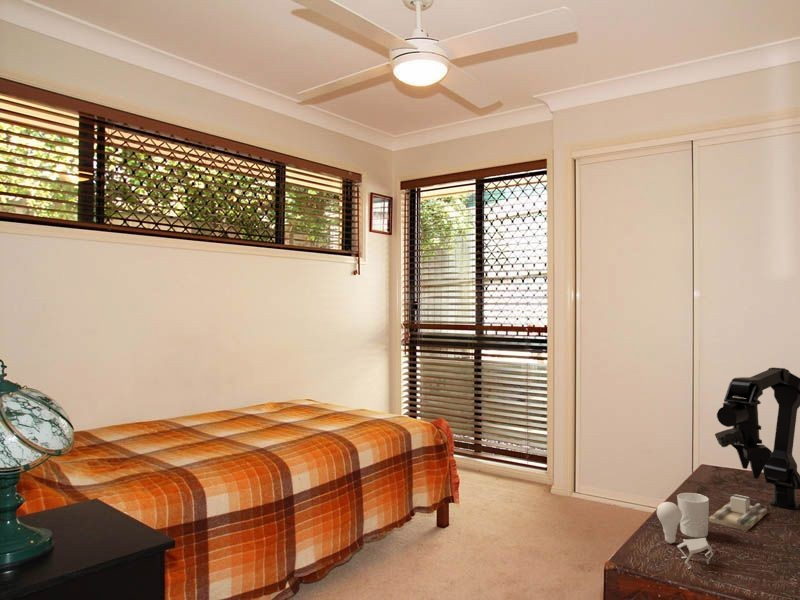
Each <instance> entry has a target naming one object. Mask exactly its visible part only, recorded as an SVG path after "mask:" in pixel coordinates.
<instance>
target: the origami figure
mask: <svg viewBox="0 0 800 600" xmlns="http://www.w3.org/2000/svg"><path fill="white" fill-rule="evenodd" d="M685 546H686V547H687V549H688V552H689V555H688V556H687V555H686V554H685V552H684V551H683V550H682V548H683V547H685ZM676 547H677V548H678V550H679V551H680V552H681V553H682V554H683V556H681V559H686V560H685V561H684V564H685V565H687V566H688V567H687V568H688V569H689V570H690V569H692V565H691V564H690V563H689V561H690V559H691V557H692V555H693V554H697V553H701V552H703V551H705V550H708V551H707V552H706V553H705V554H704V555H705V557H706V558H707V560H706V563H707V565H708V564H710V563H709V561H710V559H711V558H712V557H713V556H714V552H713V551H714V550H713V549H712V547H711V546H710V543H709V542H708V540H707V537H702V538H691V539H690V538H689V539H684V538H683V542H680V543H679V544H677V545H676ZM709 554H710V555H709ZM708 555H709V556H708Z"/></svg>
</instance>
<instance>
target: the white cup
mask: <svg viewBox="0 0 800 600" xmlns="http://www.w3.org/2000/svg"><path fill="white" fill-rule="evenodd" d="M676 497H677V498H676V499H677V500H676V501H677V506H678V507H679V509H680V510H681V513H682V518H681V521H680V523H679V526H680V528H679V529H680V532H681V533H682V534H683V535H685V536H687V537H691V538H696V539H699V538H707V537H708V534H709V517H710V515H709V509H710V508H709V506H710V505H709V504H710V503H709V501H710V499H709V498H708V496H706V495H703V494H701V493H694V492H683V493H679V494H677V495H676Z"/></svg>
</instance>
